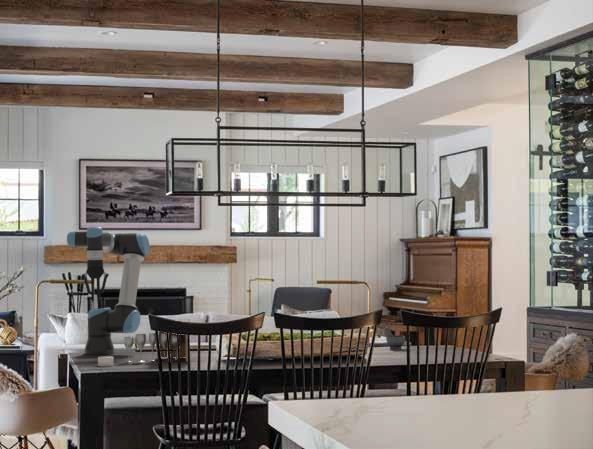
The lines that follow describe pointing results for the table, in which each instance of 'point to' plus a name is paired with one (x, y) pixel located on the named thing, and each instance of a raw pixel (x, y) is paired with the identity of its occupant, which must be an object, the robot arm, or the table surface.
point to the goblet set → (141, 342)
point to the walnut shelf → (182, 346)
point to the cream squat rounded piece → (105, 361)
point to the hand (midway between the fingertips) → (95, 308)
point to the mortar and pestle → (394, 340)
